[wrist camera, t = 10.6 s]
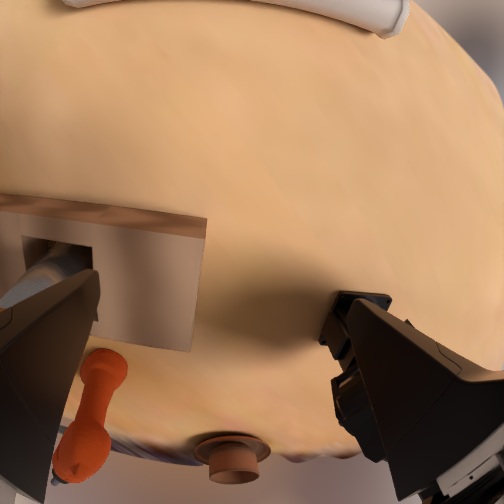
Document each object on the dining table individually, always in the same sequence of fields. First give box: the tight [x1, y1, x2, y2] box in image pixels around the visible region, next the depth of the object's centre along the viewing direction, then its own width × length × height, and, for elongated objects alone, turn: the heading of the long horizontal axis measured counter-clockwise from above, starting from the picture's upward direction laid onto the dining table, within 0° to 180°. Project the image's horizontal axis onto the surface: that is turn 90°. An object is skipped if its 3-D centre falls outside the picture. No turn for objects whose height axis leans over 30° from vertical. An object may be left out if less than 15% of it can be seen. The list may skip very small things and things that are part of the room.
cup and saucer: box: [193, 436, 271, 484], centre depth 35 cm, size 12×12×6 cm
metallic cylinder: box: [0, 241, 93, 312], centre depth 16 cm, size 5×5×13 cm
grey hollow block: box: [0, 194, 207, 352], centre depth 20 cm, size 22×10×4 cm, turn 78°
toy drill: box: [51, 349, 128, 486], centre depth 22 cm, size 5×19×15 cm, turn 137°
